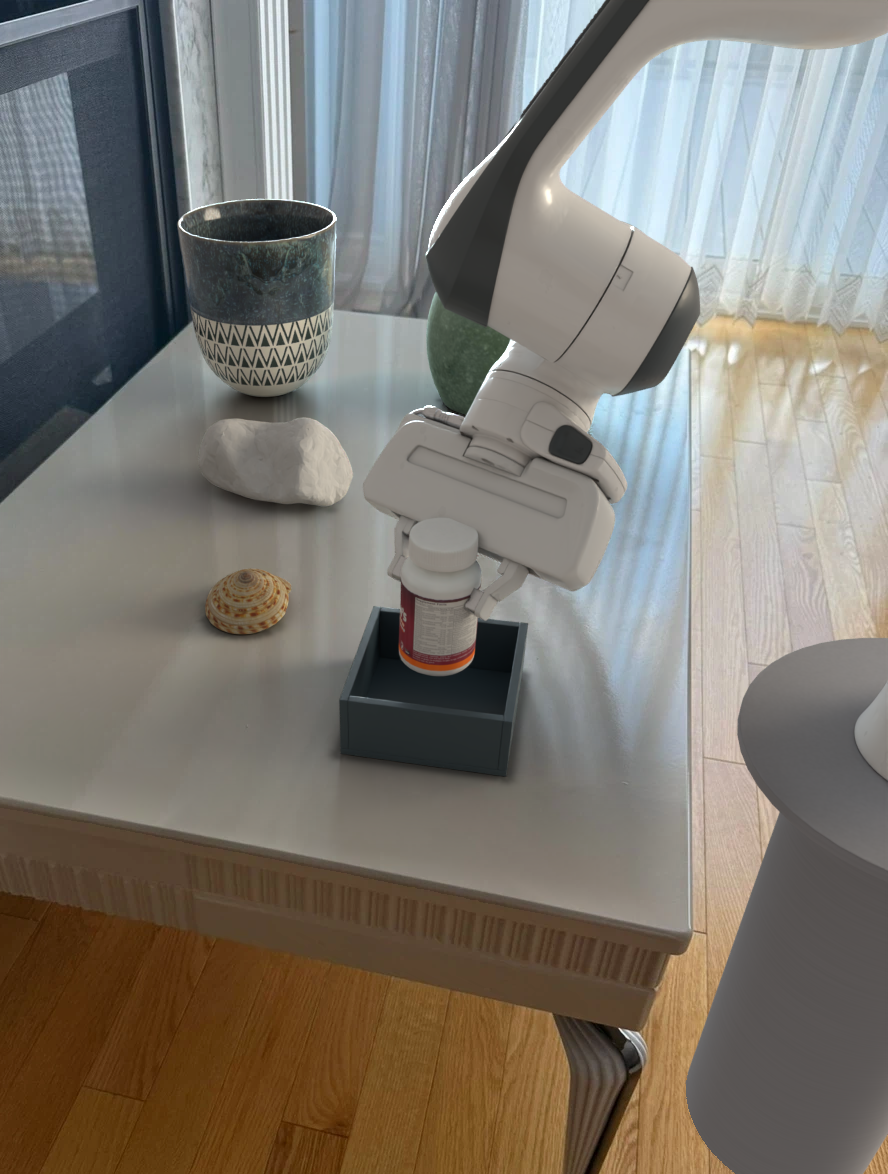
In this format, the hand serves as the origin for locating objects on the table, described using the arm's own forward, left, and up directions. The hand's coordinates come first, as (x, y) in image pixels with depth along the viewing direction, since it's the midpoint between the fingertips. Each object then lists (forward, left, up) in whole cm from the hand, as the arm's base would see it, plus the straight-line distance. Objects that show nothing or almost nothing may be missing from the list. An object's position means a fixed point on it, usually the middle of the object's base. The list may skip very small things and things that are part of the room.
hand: (435, 597), depth 80 cm
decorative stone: (+24, -36, -12) cm, 44 cm away
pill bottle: (0, -1, -6) cm, 6 cm away
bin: (0, -1, -12) cm, 12 cm away
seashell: (+20, -13, -12) cm, 26 cm away
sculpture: (+2, -67, -12) cm, 68 cm away
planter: (+33, -65, -12) cm, 73 cm away
